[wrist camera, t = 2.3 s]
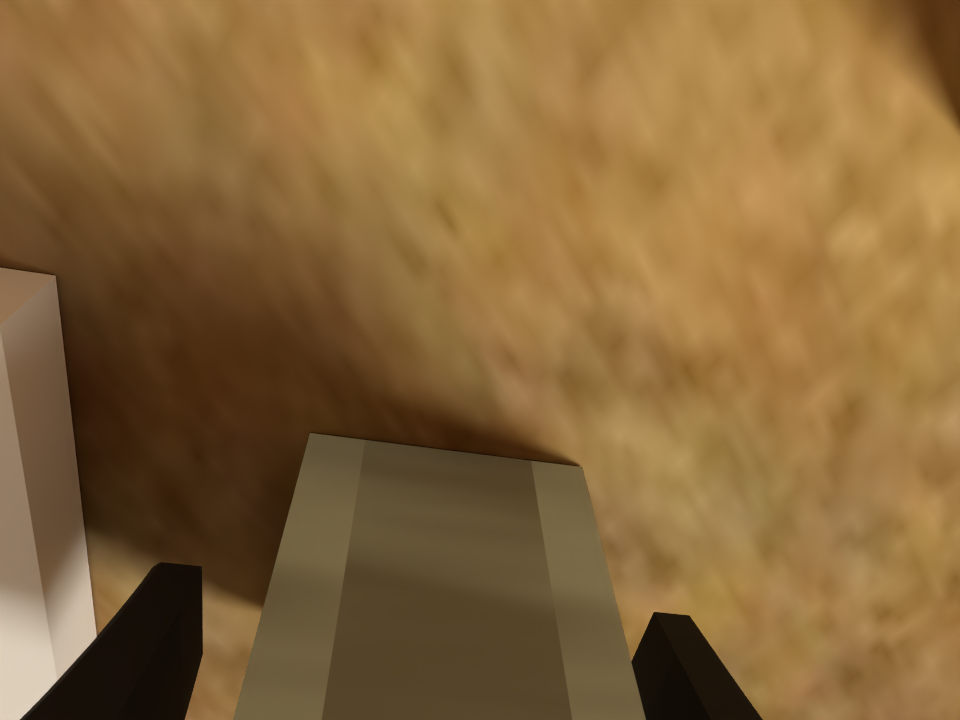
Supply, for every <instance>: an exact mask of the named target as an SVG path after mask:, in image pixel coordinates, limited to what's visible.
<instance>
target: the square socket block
mask: <svg viewBox="0 0 960 720" xmlns="http://www.w3.org/2000/svg"><path fill="white" fill-rule="evenodd" d="M233 720H646V718H645V714H644V710H643V706H642V702H641V698H640V694H639V690H638V687H637V683H636V679H635V675H634V671H633V667H632V663H631V659H630V655H629V651H628V647H627V643H626V639H625V635H624V631H623V627H622V623H621V619H620V615H619V611H618V607H617V603H616V599H615V595H614V591H613V587H612V583H611V579H610V575H609V571H608V567H607V563H606V559H605V555H604V551H603V547H602V543H601V539H600V536H599V532H598V528H597V524H596V520H595V516H594V512H593V508H592V504H591V500H590V496H589V492H588V488H587V484H586V480H585V476H584V472H583V468H582V467H577V466H569V465H561V464H553V463H545V462H537V461H529V460H522V459H514V458H506V457H498V456H490V455H482V454H474V453H466V452H458V451H450V450H442V449H434V448H426V447H418V446H410V445H402V444H394V443H386V442H378V441H370V440H362V439H354V438H346V437H338V436H330V435H322V434H314V433H310V435H309V438H308V442H307V446H306V450H305V453H304V457H303V461H302V465H301V468H300V472H299V476H298V480H297V483H296V487H295V491H294V495H293V498H292V502H291V506H290V509H289V513H288V517H287V521H286V524H285V528H284V532H283V536H282V539H281V543H280V547H279V551H278V554H277V558H276V562H275V566H274V569H273V573H272V577H271V580H270V584H269V588H268V592H267V595H266V599H265V603H264V607H263V610H262V614H261V618H260V622H259V625H258V629H257V633H256V637H255V640H254V644H253V648H252V651H251V655H250V659H249V663H248V666H247V670H246V674H245V678H244V681H243V685H242V689H241V693H240V696H239V700H238V704H237V708H236V711H235V715H234V719H233Z"/></svg>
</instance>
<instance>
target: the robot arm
mask: <svg viewBox="0 0 960 720" xmlns="http://www.w3.org/2000/svg"><path fill="white" fill-rule="evenodd" d="M202 655H203V629H202V567H201V566H192V565H182V564H172V563H162V562H161V563H159V564H157V565H156V566H154V567H153V568H152V569H151V570H150V572H149V573H148V574H147V576H146V577H145V578H144V580H143V581H142V582H141V584H140V585H139V586H138V587H137V589H136V590H135V591H134V593H133V594H132V595H131V596H130V598H129V599H128V600H127V601H126V603H125V604H124V605H123V606H122V607H121V609H120V610H119V611H118V612H117V614H116V615H115V616H114V617H113V618H112V620H111V621H110V622H109V623H108V624H107V625H106V627H105V628H104V629H103V630H102V631H101V632H100V634H99V635H98V636H97V637H96V638H95V639H94V641H93V642H92V643H91V644H90V645H89V646H88V647H87V648H86V650H85V651H84V652H83V653H82V654H81V655H80V656H79V657H78V658H77V659H76V661H75V662H74V663H73V664H72V665H71V666H70V667H69V668H68V669H67V671H66V672H65V673H64V674H63V675H62V676H61V677H60V678H59V679H58V680H57V682H56V683H55V684H54V685H53V686H52V687H51V688H50V689H49V690H48V691H47V692H46V693H45V694H44V695H43V697H42V698H41V699H40V700H39V701H38V702H37V703H36V704H35V705H34V706H33V707H32V708H31V709H30V710H29V711H28V712H27V713H26V714H25V715H24V716H23V717H22V718H21V719H20V720H185V716H186V713H187V709H188V706H189V702H190V699H191V695H192V692H193V688H194V684H195V681H196V677H197V673H198V669H199V666H200V662H201V658H202ZM631 663H632V667H633V671H634V675H635V679H636V683H637V687H638V690H639V694H640V698H641V702H642V706H643V710H644V714H645V718H646V720H763V719H762V718H761V717H760V715H759V714H758V713H757V711H756V710H755V708H754V707H753V706H752V704H751V703H750V701H749V700H748V699H747V697H746V696H745V694H744V693H743V692H742V690H741V689H740V687H739V686H738V685H737V683H736V682H735V680H734V679H733V677H732V676H731V675H730V673H729V672H728V670H727V669H726V667H725V666H724V665H723V663H722V662H721V660H720V659H719V657H718V656H717V654H716V653H715V652H714V650H713V649H712V647H711V646H710V644H709V643H708V642H707V640H706V639H705V637H704V636H703V634H702V633H701V632H700V630H699V629H698V627H697V626H696V624H695V623H694V622H693V620H692V619H691V617H690V616H689V615H679V614H669V613H659V612H654V613H653V615H652V618H651V620H650V622H649V624H648V626H647V629H646V631H645V633H644V635H643V637H642V640H641V642H640V644H639V646H638V649H637V651H636V653H635V655H634V657H633V660H632V662H631Z"/></svg>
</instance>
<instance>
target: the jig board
mask: <svg viewBox="0 0 960 720" xmlns="http://www.w3.org/2000/svg"><path fill="white" fill-rule="evenodd" d="M96 637H97V635H96V626H95V617H94V609H93V600H92V591H91V582H90V574H89V565H88V556H87V547H86V538H85V530H84V521H83V512H82V503H81V495H80V486H79V477H78V468H77V459H76V451H75V442H74V433H73V424H72V416H71V407H70V398H69V389H68V380H67V372H66V363H65V354H64V345H63V337H62V328H61V319H60V310H59V301H58V293H57V284H56V276H55V275H48V274H41V273H34V272H27V271H20V270H14V269H7V268H0V720H20V719H21V718H22V717H23V716H24V715H25V714H26V713H27V712H28V711H29V710H30V709H31V708H32V707H33V706H34V705H35V704H36V703H37V702H38V701H39V700H40V699H41V698H42V697H43V695H44V694H45V693H46V692H47V691H48V690H49V689H50V688H51V687H52V686H53V685H54V684H55V683H56V682H57V680H58V679H59V678H60V677H61V676H62V675H63V674H64V673H65V672H66V671H67V669H68V668H69V667H70V666H71V665H72V664H73V663H74V662H75V661H76V659H77V658H78V657H79V656H80V655H81V654H82V653H83V652H84V651H85V650H86V648H87V647H88V646H89V645H90V644H91V643H92V642H93V641H94V639H95V638H96Z"/></svg>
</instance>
